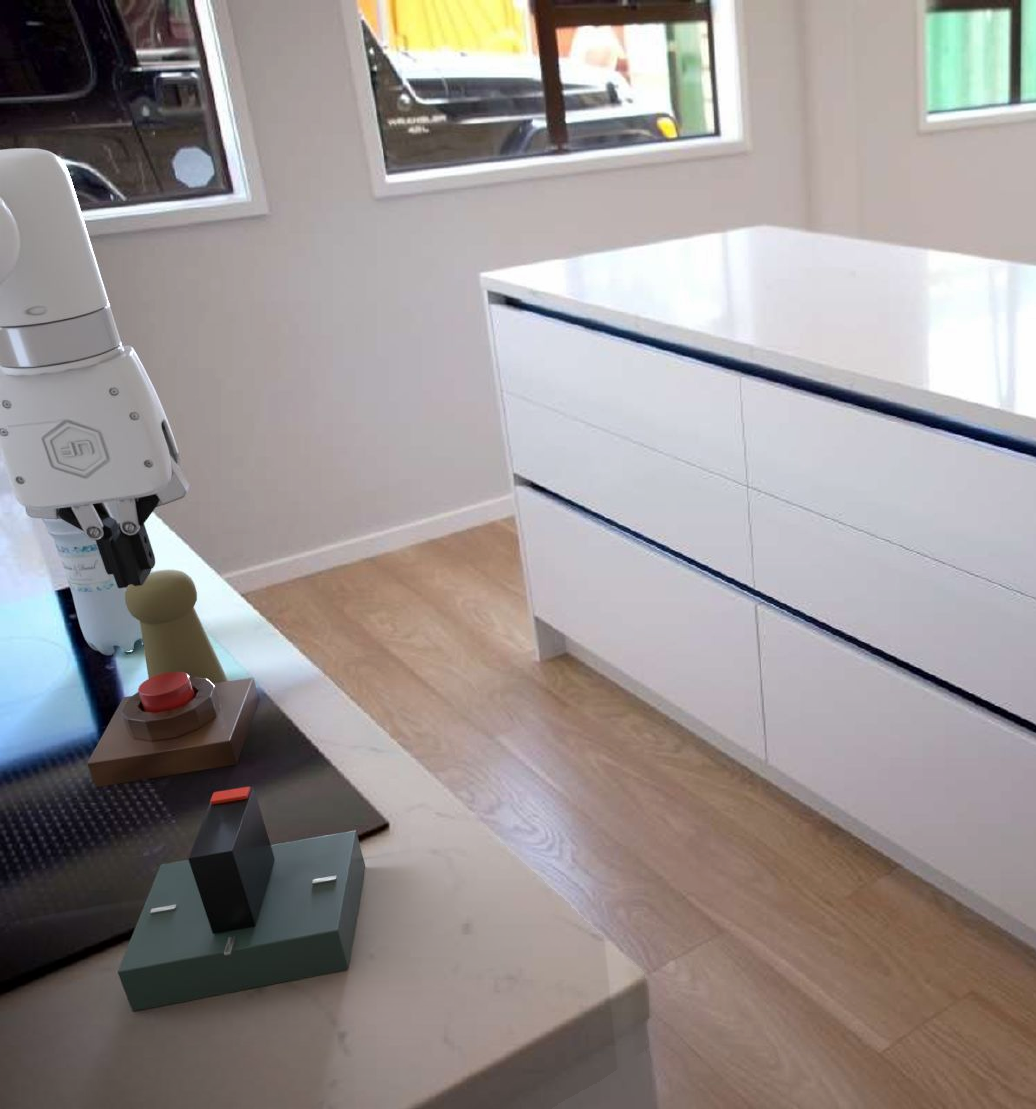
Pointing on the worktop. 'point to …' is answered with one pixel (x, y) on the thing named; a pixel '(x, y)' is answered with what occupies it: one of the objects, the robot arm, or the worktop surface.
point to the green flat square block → (255, 952)
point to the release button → (166, 692)
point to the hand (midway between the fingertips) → (135, 578)
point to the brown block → (176, 734)
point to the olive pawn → (172, 627)
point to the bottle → (94, 589)
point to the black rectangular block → (232, 860)
